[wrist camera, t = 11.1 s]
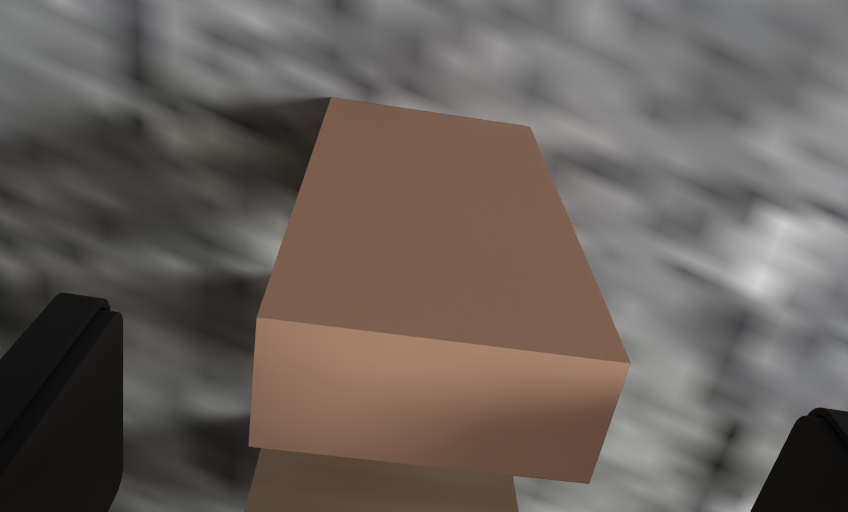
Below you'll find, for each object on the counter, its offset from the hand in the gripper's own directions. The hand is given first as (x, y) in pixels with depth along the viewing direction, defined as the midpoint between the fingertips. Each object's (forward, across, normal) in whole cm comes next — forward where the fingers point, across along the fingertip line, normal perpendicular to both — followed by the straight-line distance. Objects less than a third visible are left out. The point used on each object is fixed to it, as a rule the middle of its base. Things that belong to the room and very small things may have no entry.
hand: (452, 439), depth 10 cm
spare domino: (+10, 0, 0) cm, 10 cm away
